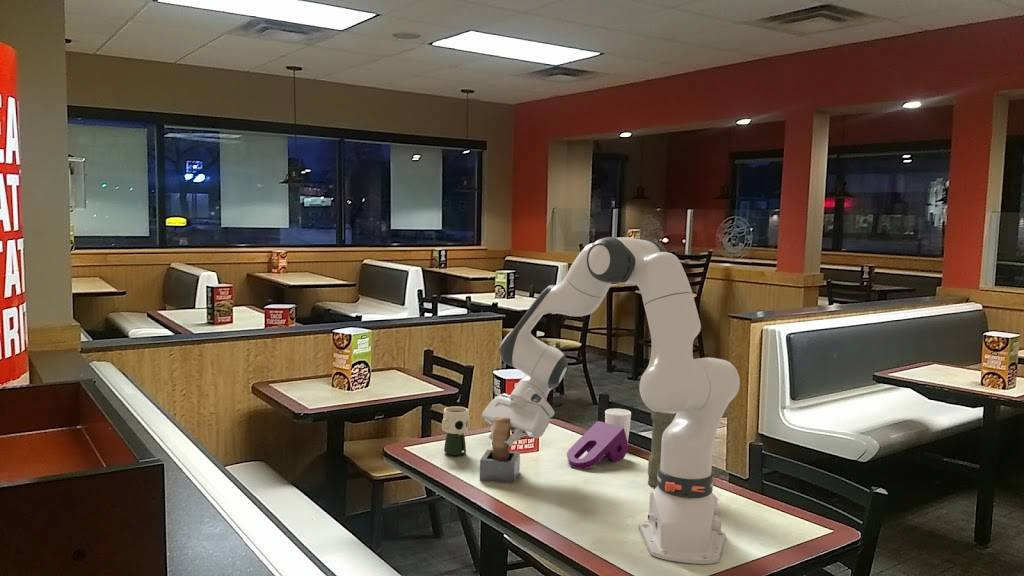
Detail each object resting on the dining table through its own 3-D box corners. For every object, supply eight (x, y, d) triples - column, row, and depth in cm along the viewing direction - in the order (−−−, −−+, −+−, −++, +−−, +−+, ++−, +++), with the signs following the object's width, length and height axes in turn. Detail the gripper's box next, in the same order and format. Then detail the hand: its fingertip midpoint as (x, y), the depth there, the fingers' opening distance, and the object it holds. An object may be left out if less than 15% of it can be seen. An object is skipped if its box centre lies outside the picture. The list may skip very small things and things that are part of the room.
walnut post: (506, 474, 201) (508, 421, 199) (490, 472, 202) (492, 420, 200) (509, 468, 205) (511, 417, 204) (493, 467, 206) (495, 415, 205)
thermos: (678, 495, 194) (686, 358, 191) (636, 484, 201) (643, 352, 198) (693, 486, 201) (701, 354, 198) (652, 475, 208) (659, 348, 205)
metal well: (513, 483, 198) (514, 462, 198) (479, 480, 200) (480, 459, 199) (519, 472, 207) (520, 452, 207) (486, 469, 209) (487, 449, 208)
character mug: (450, 461, 214) (452, 415, 213) (432, 455, 219) (433, 410, 218) (476, 452, 223) (478, 408, 222) (458, 447, 227) (459, 403, 226)
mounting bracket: (593, 490, 212) (630, 451, 223) (586, 466, 209) (623, 428, 220) (567, 481, 219) (604, 443, 230) (560, 457, 216) (598, 420, 226)
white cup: (615, 438, 242) (617, 407, 241) (634, 444, 236) (636, 412, 235) (598, 442, 237) (599, 410, 236) (617, 449, 231) (619, 416, 230)
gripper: (494, 385, 214) (466, 426, 208) (548, 400, 199) (521, 444, 193) (505, 399, 217) (478, 439, 211) (559, 414, 203) (532, 458, 197)
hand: (499, 441), depth 202 cm, fingers closed on walnut post, 4 cm apart
